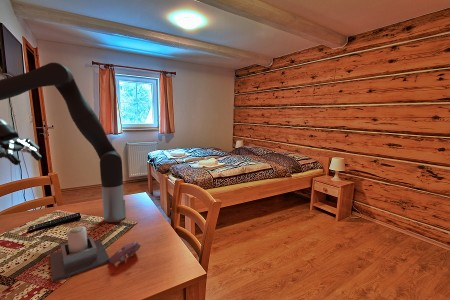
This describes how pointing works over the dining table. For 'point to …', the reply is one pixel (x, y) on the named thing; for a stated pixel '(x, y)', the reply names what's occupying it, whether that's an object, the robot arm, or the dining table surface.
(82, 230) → the paper roll
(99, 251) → the roll holder
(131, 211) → the dining table surface
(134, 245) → the video game controller
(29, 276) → the dining table surface
